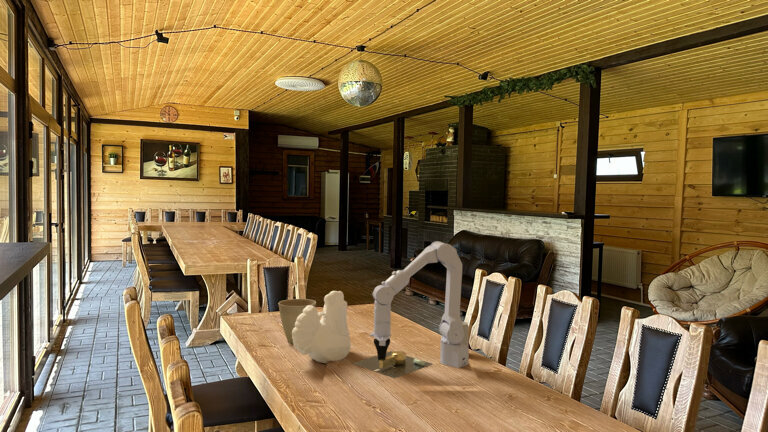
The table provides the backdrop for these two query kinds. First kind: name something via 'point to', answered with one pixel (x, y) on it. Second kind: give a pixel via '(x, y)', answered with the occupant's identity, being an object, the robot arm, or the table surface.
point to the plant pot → (292, 314)
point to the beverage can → (465, 333)
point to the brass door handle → (393, 359)
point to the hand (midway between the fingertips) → (381, 360)
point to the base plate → (393, 366)
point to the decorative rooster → (323, 330)
